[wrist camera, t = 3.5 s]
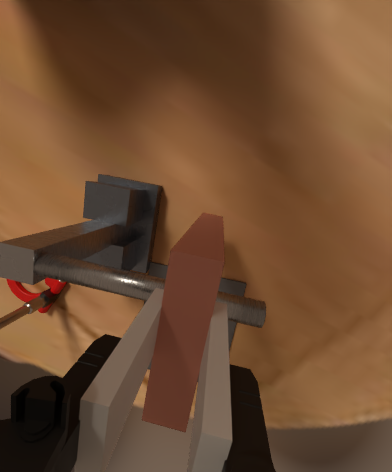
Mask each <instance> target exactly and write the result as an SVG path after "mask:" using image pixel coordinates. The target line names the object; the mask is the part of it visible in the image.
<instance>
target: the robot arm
mask: <svg viewBox="0 0 392 472" xmlns="http://www.w3.org/2000/svg"><path fill="white" fill-rule="evenodd" d="M163 293H164V289H159V288H155V290H154V291H153V293H152V294H151V296H150V297H149V299H148V300H147V302H146V303H145V305H144V306H143V308H142V309H141V310H140V312H139V313H138V315H137V316H136V318H135V319H134V321H133V322H132V324H131V325H130V327H129V328H128V330H127V331H126V333H125V334H124V336H123V337H122V338H119V337H115V336H111V335H107V334H105V335H103V336H102V337H100V338H98V339H97V340H95V341H94V342H93V343H92V344H91V345H90V346H89V347H88V349H87V350H86V351H85V353H83V355H82V356H81V357H80V358H79V359H78V361H77V362H76V363H75V364H74V365H73V366H72V368H71V369H70V370H69V371H68V372H67V374H66V375H65V376H64V377H63V378H60V377H58V376H44V377H41V378H37V379H33V380H32V381H30V382H28V383H26V384H24V385H23V386H21V387H20V388H19V389H17V390H16V391H15V392H14V393H13V394H12V395H11V419H5V420H0V472H71V470H72V468H73V466H74V465H75V469H74V472H105V470H106V467H107V465H108V462H109V460H110V457H111V455H112V453H113V450H114V448H115V446H116V443H117V441H118V438H119V436H120V434H121V431H122V429H123V426H124V424H125V421H126V419H127V416H128V414H129V412H130V410H131V407H132V405H133V402H134V400H135V398H136V395H137V393H138V390H139V388H140V386H141V383H142V381H143V378H144V376H145V373H146V371H147V369H148V366H149V364H150V361H151V359H152V357H153V354H154V348H155V343H156V337H157V331H158V325H159V319H160V313H161V308H162V299H163ZM187 472H276V471H275V469H274V466H273V463H272V459H271V454H270V448H269V443H268V438H267V432H266V426H265V421H264V415H263V410H262V404H261V399H260V393H259V388H258V382H257V380H256V379H255V377H254V375H253V373H252V372H251V370H250V369H247V368H243V367H239V366H235V365H231V364H229V343H228V318H227V304H224V303H220V302H215V306H214V311H213V315H212V317H211V321H210V326H209V330H208V334H207V339H206V343H205V348H204V352H203V356H202V361H201V365H200V372H199V380H198V388H197V396H196V404H195V412H194V420H193V428H192V436H191V444H190V452H189V460H188V468H187Z"/></svg>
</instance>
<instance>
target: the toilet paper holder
mask: <svg viewBox="0 0 392 472" xmlns="http://www.w3.org/2000/svg"><path fill="white" fill-rule="evenodd" d="M161 193H162V186H160V185H155V184H150V183H144V182H139V181H134V180H129V179H124V178H119V177H114V176H109V175H102V174H98V182H93V181H86V185H85V199H84V212H83V218H88V219H93V220H91V221H87V222H83V223H78V224H74V225H70V226H66V227H62V228H57V229H53V230H49V231H45V232H40V233H36V234H32V235H28V236H23V237H19V238H15V239H11V240H6V241H2V242H0V277H2V278H6V279H10V280H14V281H19V282H23V283H27V284H31V285H34V284H36V283H38V282H40V281H42V280H44V279H46V278H51V279H55V280H59V281H64V282H68V283H72V284H76V285H80V286H85V287H89V288H93V289H97V290H102V291H106V292H110V293H114V294H119V295H123V296H127V297H131V298H136V299H140V300H144V301H147V300H148V299H149V297H150V296H151V294H152V293H153V291H154V290H155V288H159V289H164V287H165V281H166V279H162V278H158V277H154V276H149V275H145V274H140V273H136V272H132V271H130V270H133V271H138V272H142V273H146V272H147V271H148V270H149V269H150V263H151V259H152V252H153V246H154V239H155V232H156V226H157V219H158V213H159V206H160V199H161ZM216 302H220V303H224V304H227V318H228V320H229V321H233V322H237V323H242V324H246V325H250V326H254V327H258V328H262V326H263V324H264V321H265V317H266V304H265V302H264V301H259V300H255V299H251V298H246V297H242V296H237V295H233V294H229V293H224V292H220V291H218V293H217V297H216Z"/></svg>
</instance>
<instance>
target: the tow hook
mask: <svg viewBox="0 0 392 472" xmlns="http://www.w3.org/2000/svg"><path fill="white" fill-rule="evenodd" d="M7 282H8V285H9V287H10V289H11V291H12V292H13V293H14V294H15V295H16V296H17V297H18V298H19V299H21V300H22V301H24V302H26V303H25V304H24V305H23V307H21V308H19V309H17V310H15V311H13V312H11V313H9V314H7V315H5V316H4V317H2V318H0V329H2V328H3V327H5V326H7V325H9V324H10V323H12V322H14V321H16V320H17V319H19V318H21V317H23V316H24V315H26V314H31V313H33V312H35V311H36V310H38V311H39V312H40V313H46V312H47V311H48V309H49V308H50V306H51V305H52V303H53V302H54V301H55V300H56V299H57V297H58V296H59V294H60V292H61V290H62V288H63V287H64V286H65V284H66V283H67V282H64V281H59V280H55V279H51V278H46V279H45V283H46V284H47V285H48V286H49V287H50V289H48V290H46V291H44V292H42V293H37V294H35V293H31V292H28V291H27V290H25V289H24V288H23V287H22V285H21V284H20V282H19V281H14V280H10V279H7Z"/></svg>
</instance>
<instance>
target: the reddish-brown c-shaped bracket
mask: <svg viewBox="0 0 392 472" xmlns="http://www.w3.org/2000/svg"><path fill="white" fill-rule="evenodd" d="M224 263H225V257H224V231H223V217H221V216H217V215H212V214H207V213H202V214H201V216H200V217H199V218H198V219H197V220H196V221H195V223H194V224H193V225H192V226H191V227H190V228H189V230H188V231H187V232H186V233H185V234H184V235H183V237H182V238H181V239H180V240H179V241H178V242H177V244H176V245H175V246H174V247H173V248H172V249H171V252H170V258H169V264H168V270H167V275H166V281H165V287H164V293H163V299H162V308H161V313H160V319H159V325H158V331H157V337H156V343H155V348H154V354H153V357H152V363H151V369H150V375H149V381H148V386H147V392H146V398H145V404H144V410H143V416H142V420H143V421H146V422H150V423H153V424H157V425H160V426H165V427H168V428H171V429H175V430H179V431H182V432H186V428H187V424H188V419H189V415H190V411H191V406H192V402H193V398H194V393H195V389H196V385H197V380H198V376H199V371H200V365H201V361H202V356H203V352H204V348H205V343H206V339H207V334H208V330H209V326H210V321H211V317H212V315H213V311H214V306H215V302H216V297H217V293H218V289H219V284H220V280H221V276H222V271H223V267H224Z"/></svg>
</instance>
